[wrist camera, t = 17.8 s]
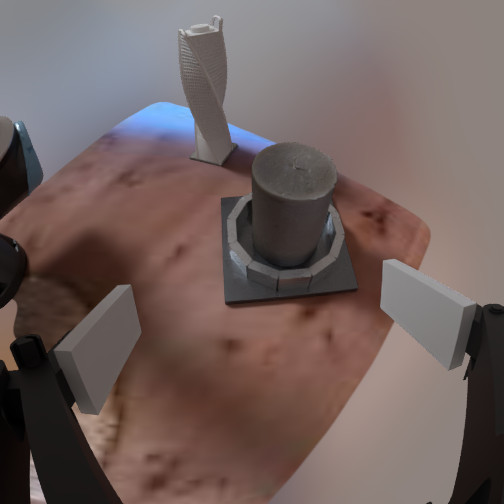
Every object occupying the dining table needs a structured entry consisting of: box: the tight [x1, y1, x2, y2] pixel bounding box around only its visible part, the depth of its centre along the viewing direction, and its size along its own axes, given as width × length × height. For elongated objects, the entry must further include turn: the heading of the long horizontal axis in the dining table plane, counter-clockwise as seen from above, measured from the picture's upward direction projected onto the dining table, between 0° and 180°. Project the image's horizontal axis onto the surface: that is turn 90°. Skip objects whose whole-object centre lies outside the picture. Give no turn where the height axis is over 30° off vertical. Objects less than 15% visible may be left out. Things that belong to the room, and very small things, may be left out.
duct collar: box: [221, 192, 358, 305], centre depth 42 cm, size 18×18×4 cm
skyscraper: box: [178, 15, 237, 166], centre depth 43 cm, size 8×8×28 cm
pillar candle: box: [252, 142, 338, 266], centre depth 36 cm, size 10×10×15 cm
